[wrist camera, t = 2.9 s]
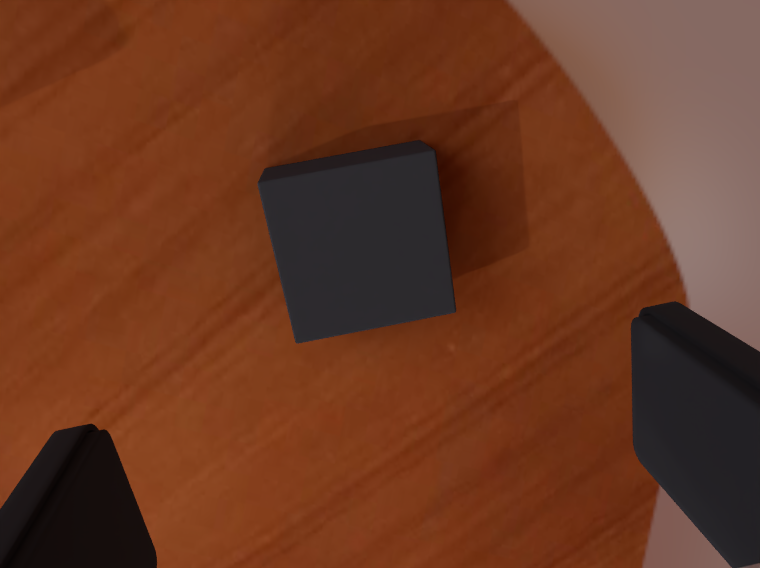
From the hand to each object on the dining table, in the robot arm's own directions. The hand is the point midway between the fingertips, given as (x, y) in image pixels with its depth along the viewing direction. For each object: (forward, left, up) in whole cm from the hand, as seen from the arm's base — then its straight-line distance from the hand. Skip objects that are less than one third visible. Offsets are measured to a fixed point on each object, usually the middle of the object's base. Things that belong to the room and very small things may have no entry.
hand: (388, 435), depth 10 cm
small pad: (0, 0, -14) cm, 14 cm away
